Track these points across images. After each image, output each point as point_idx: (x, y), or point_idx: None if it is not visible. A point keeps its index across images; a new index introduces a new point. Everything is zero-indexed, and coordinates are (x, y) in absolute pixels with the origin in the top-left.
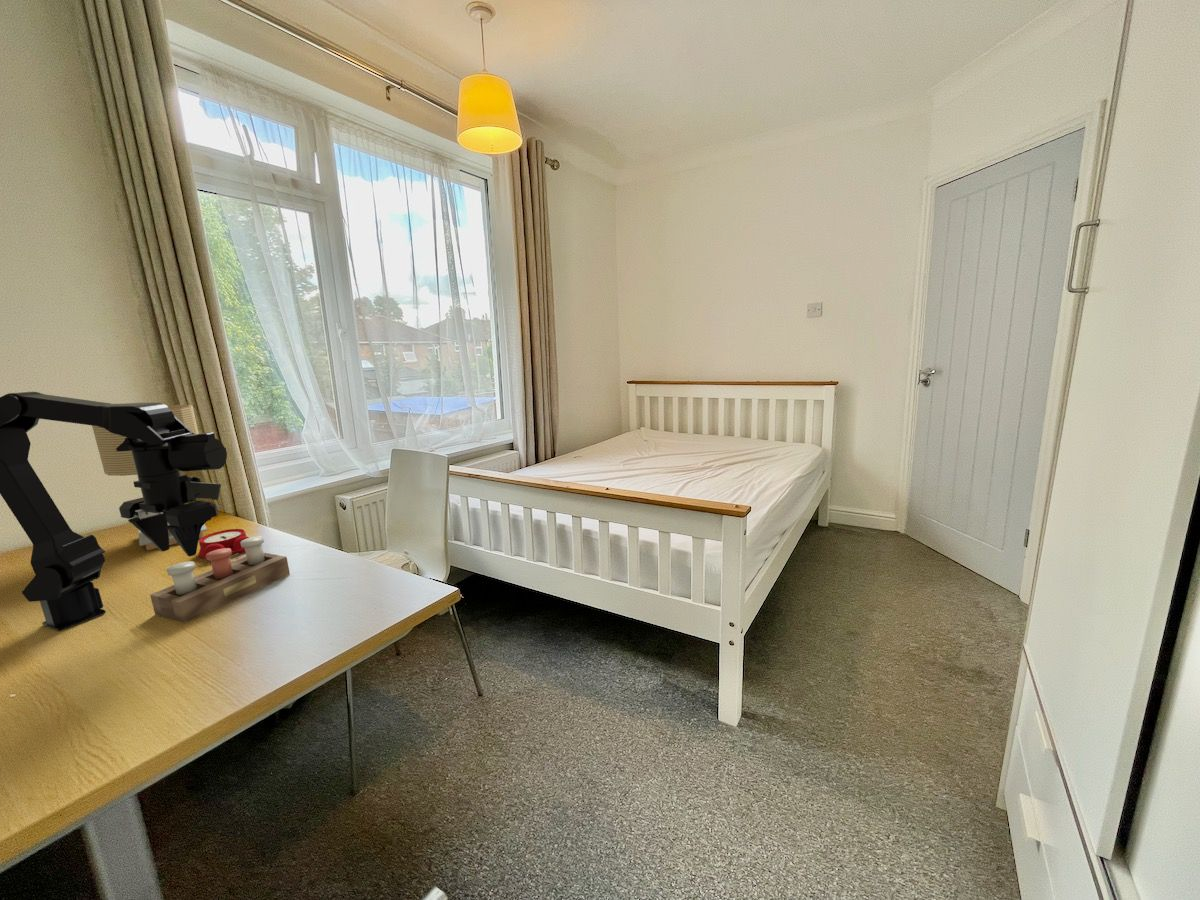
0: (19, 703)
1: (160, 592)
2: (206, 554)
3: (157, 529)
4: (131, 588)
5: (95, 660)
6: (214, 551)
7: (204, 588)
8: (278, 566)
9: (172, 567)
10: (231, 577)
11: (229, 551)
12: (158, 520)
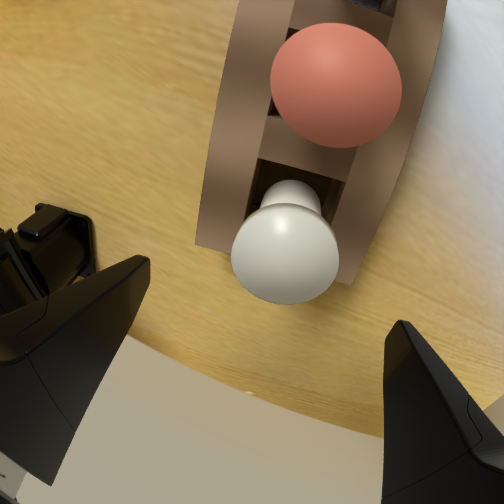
0: (279, 401)
1: (214, 232)
2: (286, 119)
3: (68, 381)
4: (20, 119)
5: (279, 348)
6: (294, 72)
7: (358, 203)
8: None
9: (255, 274)
10: None
11: (399, 74)
12: (20, 415)
